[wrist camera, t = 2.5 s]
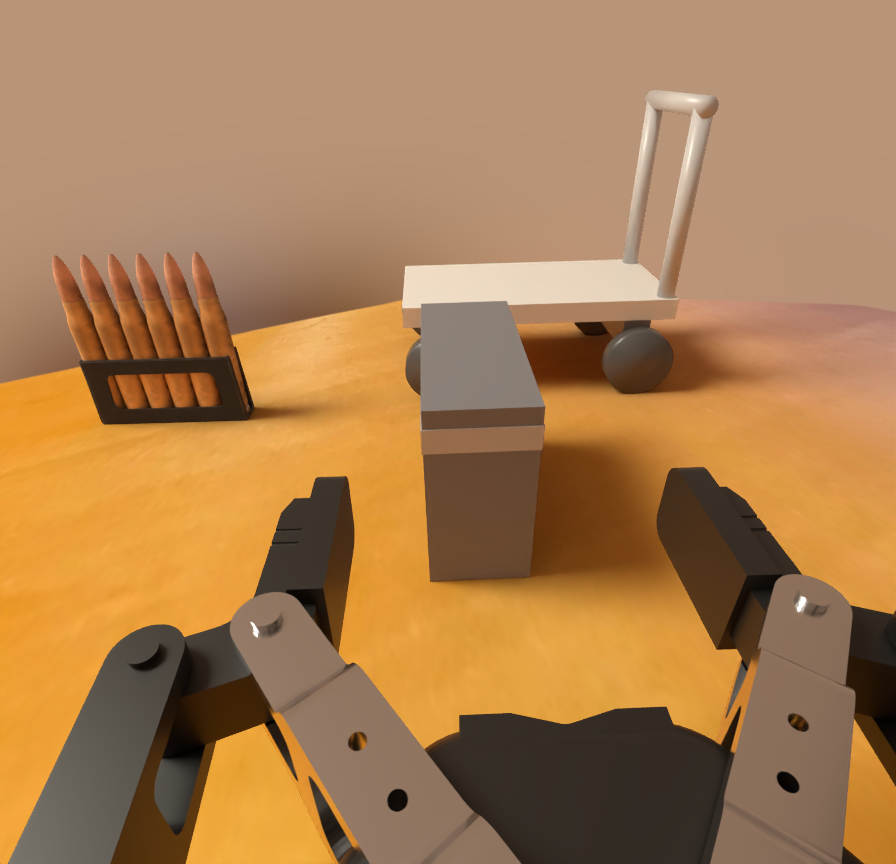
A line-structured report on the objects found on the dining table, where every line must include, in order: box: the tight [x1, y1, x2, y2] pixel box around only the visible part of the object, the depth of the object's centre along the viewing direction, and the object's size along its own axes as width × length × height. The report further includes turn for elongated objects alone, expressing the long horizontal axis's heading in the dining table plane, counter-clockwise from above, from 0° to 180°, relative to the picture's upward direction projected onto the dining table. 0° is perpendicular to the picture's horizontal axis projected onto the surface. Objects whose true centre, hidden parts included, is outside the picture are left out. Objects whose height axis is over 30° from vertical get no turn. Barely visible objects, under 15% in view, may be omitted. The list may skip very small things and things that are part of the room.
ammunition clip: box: [52, 252, 254, 424], centre depth 38 cm, size 11×2×12 cm, turn 91°
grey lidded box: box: [421, 301, 545, 582], centre depth 30 cm, size 5×12×10 cm, turn 2°
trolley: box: [402, 90, 718, 395], centre depth 42 cm, size 20×12×20 cm, turn 92°
